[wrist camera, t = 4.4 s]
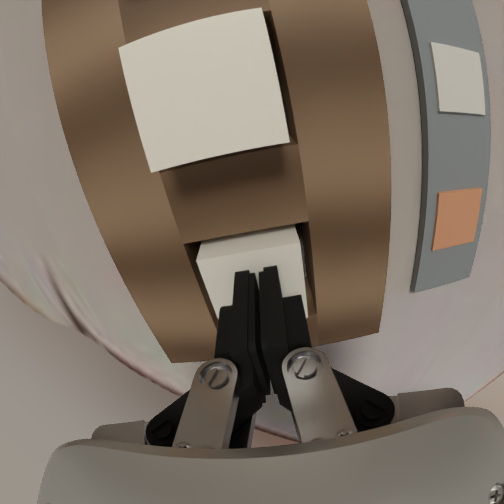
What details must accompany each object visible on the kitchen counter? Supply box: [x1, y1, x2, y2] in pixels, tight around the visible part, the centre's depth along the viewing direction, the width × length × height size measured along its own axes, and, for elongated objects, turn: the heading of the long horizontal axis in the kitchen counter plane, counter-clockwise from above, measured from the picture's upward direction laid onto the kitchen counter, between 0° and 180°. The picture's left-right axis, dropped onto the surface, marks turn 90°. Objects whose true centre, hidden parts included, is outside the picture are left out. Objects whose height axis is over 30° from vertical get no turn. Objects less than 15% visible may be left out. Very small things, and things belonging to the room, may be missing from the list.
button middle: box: [118, 7, 290, 173], centre depth 8 cm, size 4×4×4 cm
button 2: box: [196, 224, 308, 319], centre depth 13 cm, size 4×4×4 cm
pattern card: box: [401, 0, 491, 293], centre depth 9 cm, size 26×5×1 cm, turn 11°
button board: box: [42, 0, 391, 363], centre depth 9 cm, size 26×12×3 cm, turn 11°
